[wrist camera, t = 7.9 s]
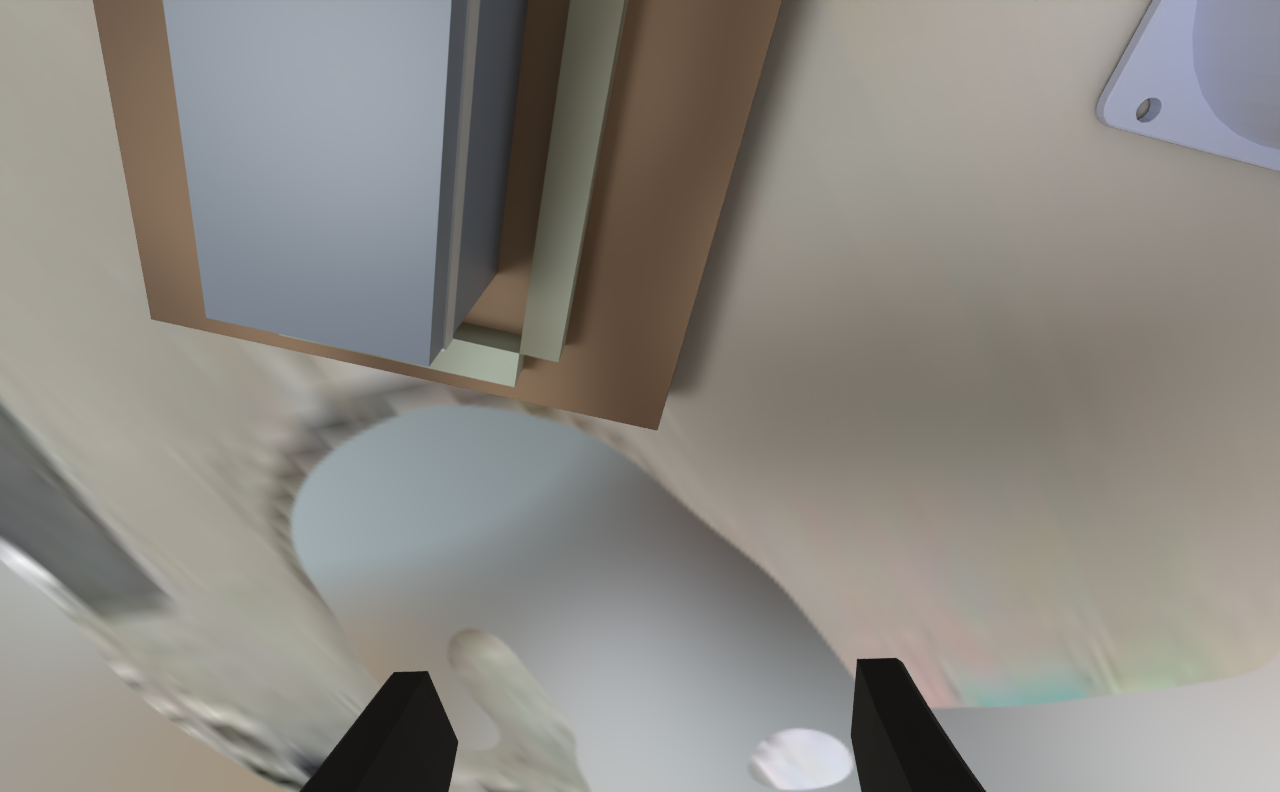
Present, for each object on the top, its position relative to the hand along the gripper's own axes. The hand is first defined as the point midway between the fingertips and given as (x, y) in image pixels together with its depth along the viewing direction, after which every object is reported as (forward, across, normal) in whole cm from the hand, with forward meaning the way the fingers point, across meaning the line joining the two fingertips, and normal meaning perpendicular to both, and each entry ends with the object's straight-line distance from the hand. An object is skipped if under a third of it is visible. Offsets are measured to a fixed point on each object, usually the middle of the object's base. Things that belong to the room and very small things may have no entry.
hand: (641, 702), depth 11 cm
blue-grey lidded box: (+8, +4, -9) cm, 13 cm away
